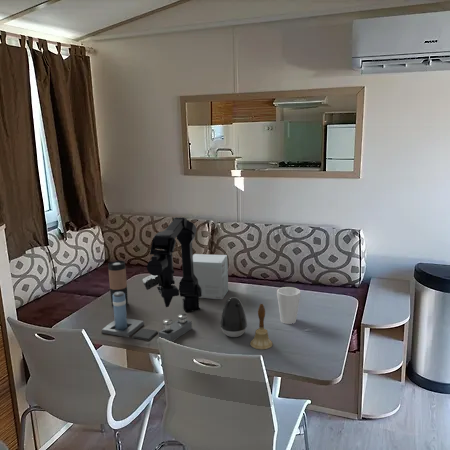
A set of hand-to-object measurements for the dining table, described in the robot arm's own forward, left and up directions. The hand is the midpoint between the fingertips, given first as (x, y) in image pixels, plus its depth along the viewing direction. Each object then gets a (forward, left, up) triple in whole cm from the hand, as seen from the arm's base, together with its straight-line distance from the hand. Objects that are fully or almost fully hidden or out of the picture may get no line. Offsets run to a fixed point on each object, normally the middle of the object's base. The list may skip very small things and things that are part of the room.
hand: (167, 306), depth 171 cm
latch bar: (-3, -3, -13) cm, 14 cm away
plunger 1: (0, 0, -10) cm, 10 cm away
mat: (+8, -6, -13) cm, 17 cm away
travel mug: (+15, -41, -13) cm, 46 cm away
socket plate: (+16, -15, -13) cm, 25 cm away
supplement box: (-27, -40, -14) cm, 50 cm away
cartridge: (+17, -14, -13) cm, 25 cm away
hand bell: (-32, +16, -13) cm, 38 cm away
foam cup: (-50, +1, -13) cm, 52 cm away
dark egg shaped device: (-25, +5, -13) cm, 29 cm away
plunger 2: (-7, -6, -12) cm, 15 cm away
